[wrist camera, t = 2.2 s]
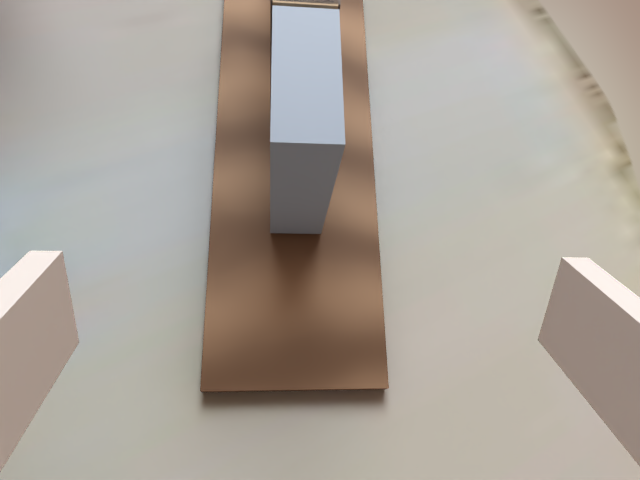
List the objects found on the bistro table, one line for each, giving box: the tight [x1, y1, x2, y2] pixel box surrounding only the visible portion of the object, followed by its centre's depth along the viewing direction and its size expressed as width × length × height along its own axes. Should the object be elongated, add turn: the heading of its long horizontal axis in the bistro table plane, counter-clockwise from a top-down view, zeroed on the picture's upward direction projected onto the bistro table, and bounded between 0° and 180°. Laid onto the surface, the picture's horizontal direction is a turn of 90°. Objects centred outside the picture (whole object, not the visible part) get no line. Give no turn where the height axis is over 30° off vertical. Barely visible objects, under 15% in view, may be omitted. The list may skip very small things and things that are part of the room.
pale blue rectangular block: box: [270, 5, 345, 234], centre depth 25 cm, size 7×3×10 cm, turn 1°
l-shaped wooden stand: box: [200, 0, 389, 392], centre depth 27 cm, size 29×10×11 cm, turn 1°
